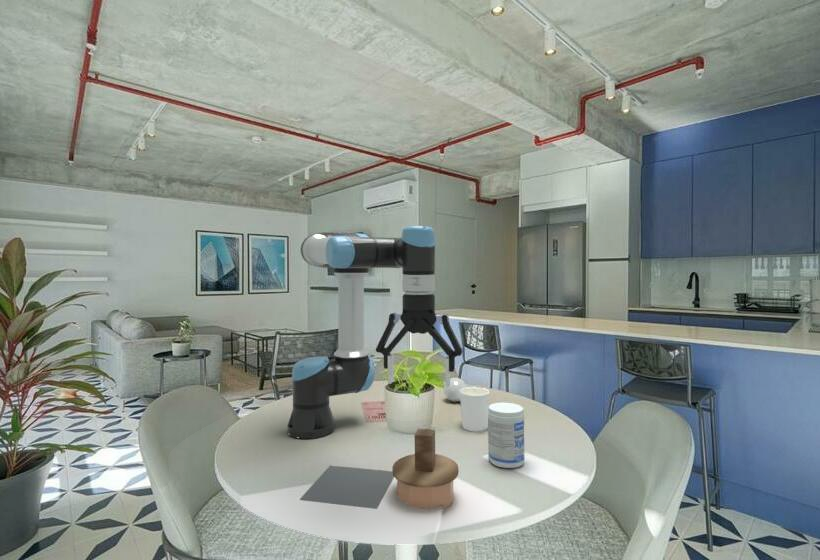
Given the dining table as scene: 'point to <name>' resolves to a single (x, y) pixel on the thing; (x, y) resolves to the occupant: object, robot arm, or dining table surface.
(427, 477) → the lid
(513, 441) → the supplement tub
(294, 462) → the dining table surface
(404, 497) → the bowl
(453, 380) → the potion bottle
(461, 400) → the candle holder
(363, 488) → the mat
